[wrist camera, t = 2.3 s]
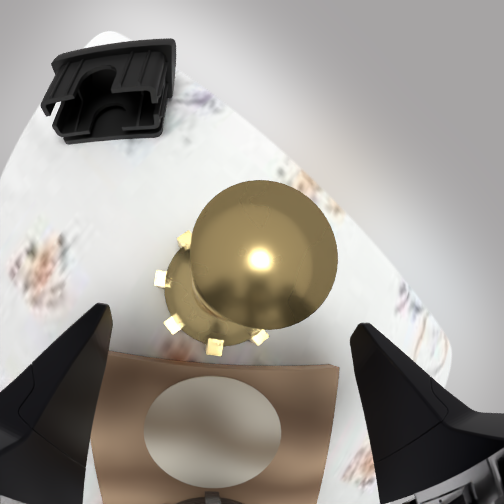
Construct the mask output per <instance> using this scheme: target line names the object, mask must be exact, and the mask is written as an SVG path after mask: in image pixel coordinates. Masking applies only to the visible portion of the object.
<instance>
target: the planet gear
mask: <svg viewBox="0 0 504 504" xmlns="http://www.w3.org/2000/svg"><path fill="white" fill-rule="evenodd" d="M177 241H178V245H179V247H180V250H179V251H178V252H177V253H176V255H175V256H174V257H173V259H172V261H171V263H170V265H169V267H168V270H167V272H165V271H159V270H157V271H156V277H155V283H154V285H155V286H157V287H158V288H164V289H165V299H166V303H167V306H168V310H169V312H170V314H171V316H172V317H171V318H169V319H168V320H166V321H165V322H164V324H165V325H166V327H167V328H168V329H169V331H170V332H171V333H172V334H175V333H176V332H177V331H179V330H180V329H182V330H183V331H184V332H185V333H186V334H188V335H189V336H191V337H192V338H194V339H196V340H198V341H200V342H202V343H205V344H206V348H205V351H206V354H207V355H214V356H222V349H223V346H231V345H236V344H239V343H242V342H245V341H247V340H250V341H251V342H252V343H254V344H256V345H260V344H261V343H262V342H263V341H265V340H266V339H267V338H268V337H269V335H268V334H267V333H266V332H265V330H272V329H281V328H285V327H289V326H292V325H294V324H297V323H299V322H301V321H302V320H304V319H306V318H308V317H309V316H310V315H311V314H313V313H314V312H315V311H316V310H317V309H318V308H319V307H320V306H321V305H322V303H323V302H324V301H325V299H326V298H327V296H328V294H329V292H330V291H331V289H332V286H333V283H334V281H335V277H336V272H337V264H338V253H337V245H336V241H335V237H334V234H333V231H332V229H331V226H330V224H329V222H328V220H327V219H326V217H325V216H324V214H323V213H322V211H321V210H320V209H319V208H318V207H317V205H316V204H315V203H314V202H313V201H311V200H310V199H309V198H308V197H307V196H305V195H304V194H303V193H301V192H300V191H298V190H296V189H294V188H292V187H290V186H287V185H285V184H282V183H278V182H273V181H267V180H255V181H247V182H242V183H239V184H236V185H233V186H231V187H229V188H227V189H225V190H223V191H222V192H220V193H219V194H218V195H216V196H215V197H214V198H213V199H212V200H211V201H210V202H209V203H208V204H207V205H206V206H205V208H204V209H203V210H202V212H201V213H200V215H199V217H198V219H197V221H196V223H195V226H194V229H193V232H192V234H191V232H190V231H189V230H188V231H187V232H185V233H184V234H182V235H181V236H180V237H178V238H177ZM264 329H265V330H264Z"/></svg>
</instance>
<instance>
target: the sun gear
mask: <svg viewBox="0 0 504 504" xmlns="http://www.w3.org/2000/svg"><path fill="white" fill-rule="evenodd" d="M163 504H164V503H163ZM176 504H244V503H242V502H239V501H236V500H232V499H228V498H221V497H220V496H219V492H210V491H205V497H198V498H191V499H187V500H184V501H181V502H178V503H176Z"/></svg>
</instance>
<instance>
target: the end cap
mask: <svg viewBox="0 0 504 504" xmlns="http://www.w3.org/2000/svg"><path fill="white" fill-rule="evenodd" d="M51 65H52V68H53V70H54V72H55V77H54V79H53V81H52V83H51V84H50V86H49V89H48V90H47V92H46V94H45V96H44V98H43V100H42V102H41V108H42V110H43V112H44V113H45V115H46V116H50V115H51V113H52V110H53V108H54V106H55V104H56V102H60V101H61V105H60V107H59V109H58V112H57V114H56V117H55V119H54V122H53V124H52V127H53V129H54V130H55V132H56V133H57V135H59V136H61V137H64V138H63V139H64V141H65V142H66V144H76V143H85V142H94V141H104V140H116V139H132V138H155V137H158V136H160V135H161V133H162V130H163V123H164V117H165V111H166V105H167V98H171V97H172V94H173V87H174V78H175V67H176V43H175V40H174V39H152V40H138V41H128V42H120V43H113V44H106V45H100V46H95V47H89V48H84V49H80V50H76V51H71V52H68V53H63V54H61V55H59V56H57V57H56V58H55V59H54V61H53V62H52V63H51Z"/></svg>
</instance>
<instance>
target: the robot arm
mask: <svg viewBox="0 0 504 504" xmlns="http://www.w3.org/2000/svg"><path fill="white" fill-rule="evenodd" d="M112 327H113V320H112V316H111V311H110V307H109V305H108V304H104V303H97V304H95V305H94V306H93V307H92V308H91V309H90V310H88V311H87V312H86V313H85V314H84V315H83V316H82V317H80V318H79V319H78V320H77V321H76V322H75V323H74V324H73V325H72V326H70V327H69V328H68V329H67V330H66V331H65V332H64V333H63V334H62V335H61V336H60V337H58V338H57V339H56V340H55V341H54V342H53V343H52V344H51V345H50V346H49V347H48V348H47V349H46V350H45V351H44V352H43V353H42V354H41V355H40V356H38V357H37V358H36V359H35V360H34V361H33V362H32V364H30V365H29V366H28V367H27V368H26V369H25V370H24V371H23V372H22V373H21V374H20V375H19V376H18V377H17V378H16V379H15V380H14V381H13V382H11V383H10V384H9V385H8V386H7V387H6V388H4V389H3V390H2V391H1V392H0V504H83V490H84V480H85V471H86V468H85V467H86V462H87V455H88V448H89V442H90V436H91V431H92V425H93V420H94V415H95V410H96V406H97V401H98V397H99V392H100V388H101V384H102V380H103V376H104V372H105V368H106V363H107V357H108V350H109V344H110V338H111V333H112ZM350 346H351V352H352V359H353V365H354V372H355V377H356V382H357V386H358V390H359V394H360V398H361V402H362V407H363V411H364V416H365V420H366V425H367V430H368V435H369V439H370V445H371V450H372V455H373V461H374V467H375V473H376V479H377V485H378V492H379V499H380V504H385V503H389V502H392V501H395V500H398V499H401V498H404V497H407V496H410V495H413V494H414V496H415V497H414V498H412V499H411V500H408V501H406V502H404V503H402V504H504V414H501V413H481V412H477V411H474V410H472V409H470V408H469V407H467V406H466V405H465V404H464V403H462V402H461V401H460V400H458V399H457V398H456V397H454V396H453V395H452V394H451V393H449V392H448V391H447V390H446V389H444V388H443V387H442V386H441V385H440V384H439V383H437V382H436V381H435V380H434V379H433V378H432V377H430V375H428V374H427V373H426V372H425V371H424V370H423V369H422V368H421V367H419V366H418V365H417V364H416V363H415V362H414V361H413V360H411V359H410V358H409V357H408V356H407V355H406V354H405V353H404V352H402V351H401V350H400V349H399V348H398V347H397V346H396V345H394V344H393V343H392V342H391V341H390V340H389V339H387V338H386V337H385V336H384V335H383V334H382V333H381V332H379V331H378V330H377V329H376V328H375V327H374V326H372V325H371V324H370V323H360V324H358V326H357V327H356V329H355V331H354V332H353V334H352V335H351V338H350Z"/></svg>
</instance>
